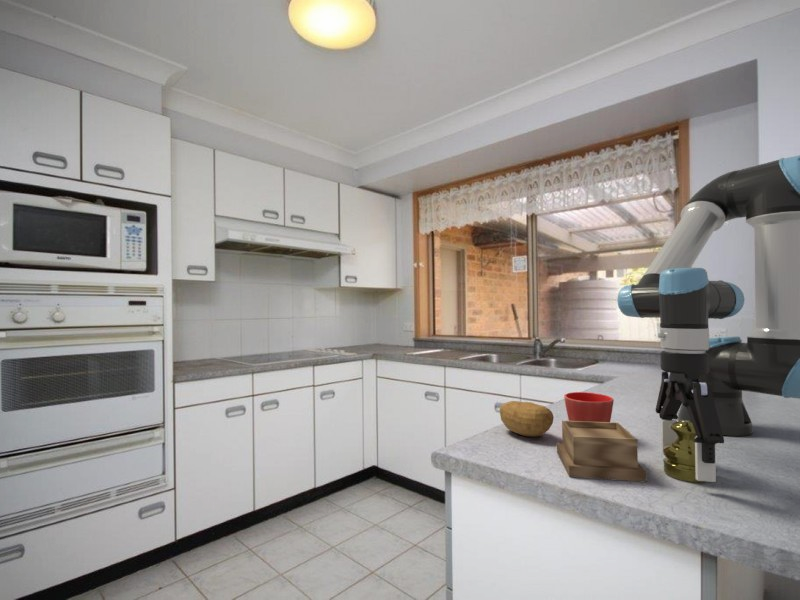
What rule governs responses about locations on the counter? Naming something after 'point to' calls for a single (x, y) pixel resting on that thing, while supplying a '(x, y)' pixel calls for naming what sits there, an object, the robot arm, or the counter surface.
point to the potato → (526, 418)
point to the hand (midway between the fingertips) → (686, 465)
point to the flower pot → (588, 407)
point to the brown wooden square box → (599, 451)
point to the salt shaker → (681, 453)
